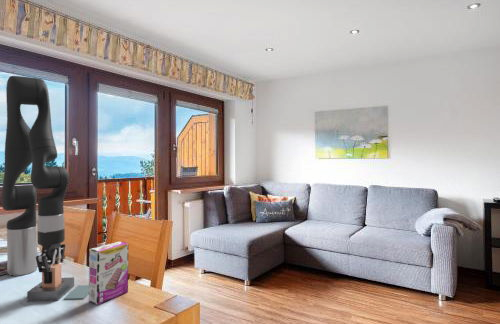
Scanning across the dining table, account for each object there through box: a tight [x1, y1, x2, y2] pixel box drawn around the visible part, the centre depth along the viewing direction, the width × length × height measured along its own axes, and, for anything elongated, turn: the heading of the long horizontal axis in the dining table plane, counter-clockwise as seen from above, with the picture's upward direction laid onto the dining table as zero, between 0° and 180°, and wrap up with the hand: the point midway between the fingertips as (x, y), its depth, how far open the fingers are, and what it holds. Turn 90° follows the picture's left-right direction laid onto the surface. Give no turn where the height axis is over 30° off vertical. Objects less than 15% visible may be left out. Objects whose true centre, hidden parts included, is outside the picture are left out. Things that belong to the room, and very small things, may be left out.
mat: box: [63, 284, 89, 301], centre depth 106 cm, size 10×6×1 cm, turn 5°
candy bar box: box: [88, 241, 129, 306], centre depth 102 cm, size 11×5×16 cm, turn 149°
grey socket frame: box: [26, 277, 75, 303], centre depth 105 cm, size 11×9×3 cm
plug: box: [41, 263, 62, 288], centre depth 105 cm, size 4×4×9 cm
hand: (51, 280), depth 105 cm, fingers closed on plug, 4 cm apart
